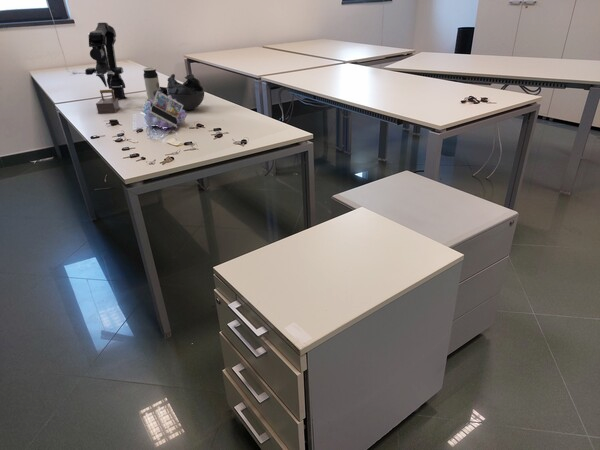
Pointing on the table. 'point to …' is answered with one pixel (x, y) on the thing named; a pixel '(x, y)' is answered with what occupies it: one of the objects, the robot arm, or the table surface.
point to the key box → (108, 108)
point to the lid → (106, 100)
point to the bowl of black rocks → (186, 91)
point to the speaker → (162, 89)
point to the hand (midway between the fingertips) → (108, 86)
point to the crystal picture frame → (163, 111)
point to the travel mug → (151, 82)
